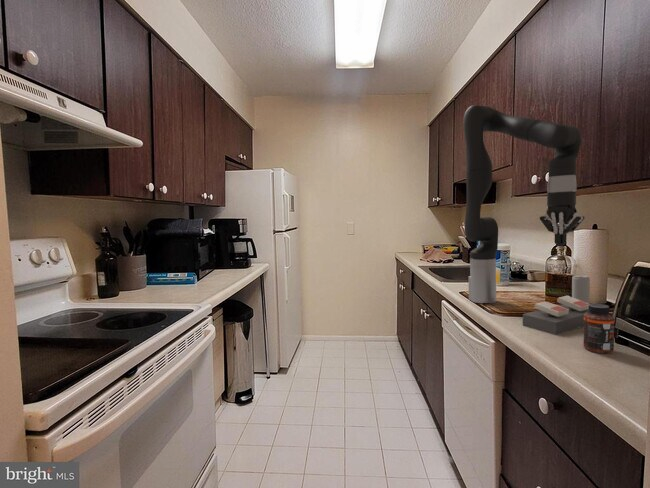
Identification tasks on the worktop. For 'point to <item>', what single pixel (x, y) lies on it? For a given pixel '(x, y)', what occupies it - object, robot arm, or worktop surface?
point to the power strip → (555, 320)
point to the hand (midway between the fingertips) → (560, 245)
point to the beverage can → (581, 288)
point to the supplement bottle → (599, 329)
